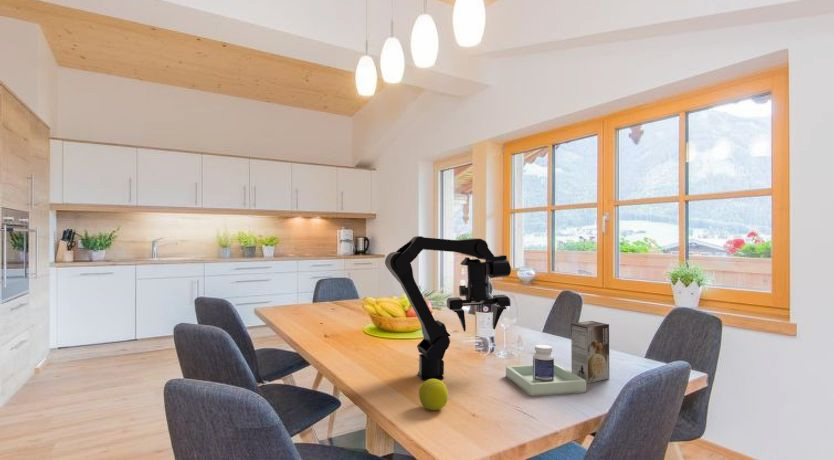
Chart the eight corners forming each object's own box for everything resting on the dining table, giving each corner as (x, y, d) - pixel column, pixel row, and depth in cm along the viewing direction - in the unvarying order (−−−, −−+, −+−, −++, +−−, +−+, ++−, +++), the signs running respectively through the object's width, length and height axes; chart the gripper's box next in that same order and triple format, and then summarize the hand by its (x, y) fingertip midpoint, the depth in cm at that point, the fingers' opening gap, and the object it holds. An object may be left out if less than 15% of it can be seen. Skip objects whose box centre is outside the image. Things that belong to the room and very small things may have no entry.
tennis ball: (452, 413, 101) (452, 383, 101) (423, 416, 99) (424, 385, 99) (442, 402, 108) (442, 373, 108) (415, 404, 106) (415, 376, 106)
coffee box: (592, 372, 132) (592, 320, 132) (610, 379, 126) (610, 324, 126) (570, 377, 127) (570, 322, 128) (588, 383, 122) (588, 327, 122)
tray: (531, 396, 112) (531, 384, 112) (505, 376, 128) (505, 366, 128) (586, 392, 115) (586, 380, 115) (554, 373, 131) (554, 363, 131)
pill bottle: (558, 384, 120) (558, 348, 120) (540, 386, 118) (540, 349, 118) (545, 377, 125) (545, 343, 125) (528, 379, 123) (529, 344, 124)
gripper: (499, 275, 141) (500, 322, 141) (442, 278, 139) (444, 326, 139) (510, 278, 130) (512, 330, 130) (449, 282, 128) (451, 334, 128)
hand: (479, 330), depth 132 cm, fingers open, 9 cm apart
